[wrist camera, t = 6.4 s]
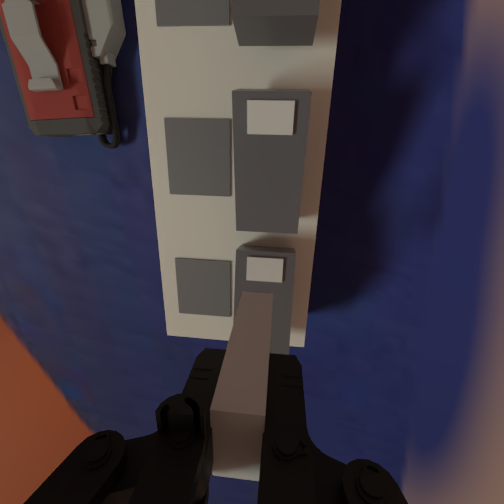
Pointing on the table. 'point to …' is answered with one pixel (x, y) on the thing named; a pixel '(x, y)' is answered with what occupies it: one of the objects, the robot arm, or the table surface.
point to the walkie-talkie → (65, 64)
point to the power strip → (221, 152)
